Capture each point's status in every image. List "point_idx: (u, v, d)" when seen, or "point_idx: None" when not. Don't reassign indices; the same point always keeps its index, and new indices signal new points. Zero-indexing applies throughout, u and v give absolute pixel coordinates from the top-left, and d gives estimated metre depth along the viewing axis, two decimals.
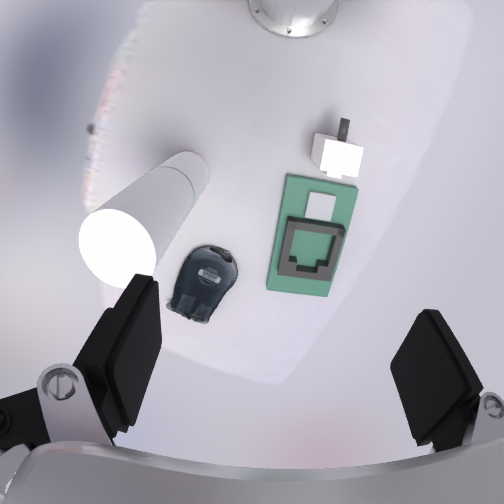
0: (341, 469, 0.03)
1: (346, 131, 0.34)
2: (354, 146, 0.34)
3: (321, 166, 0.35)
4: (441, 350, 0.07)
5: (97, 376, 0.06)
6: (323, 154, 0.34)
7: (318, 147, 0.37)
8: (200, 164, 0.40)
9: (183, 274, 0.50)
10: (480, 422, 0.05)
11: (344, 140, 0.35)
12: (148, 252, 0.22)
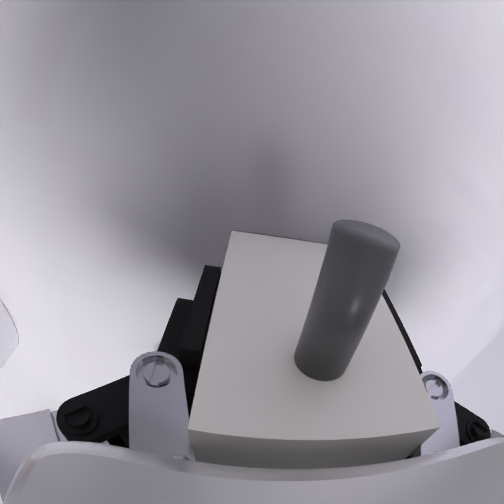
0: (341, 469, 0.03)
1: (361, 329, 0.05)
2: (388, 439, 0.04)
3: None
4: None
5: (192, 360, 0.07)
6: None
7: None
8: None
9: None
10: None
11: (338, 373, 0.06)
12: None
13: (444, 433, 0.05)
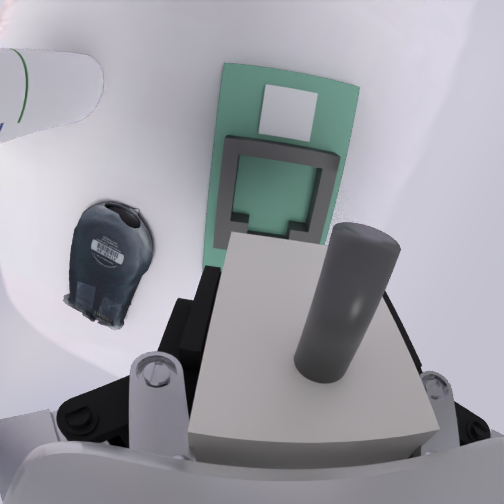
0: (341, 469, 0.03)
1: (361, 331, 0.05)
2: (388, 441, 0.04)
3: None
4: None
5: (192, 360, 0.07)
6: None
7: None
8: (80, 59, 0.18)
9: (73, 249, 0.28)
10: None
11: (338, 375, 0.06)
12: None
13: (444, 433, 0.05)
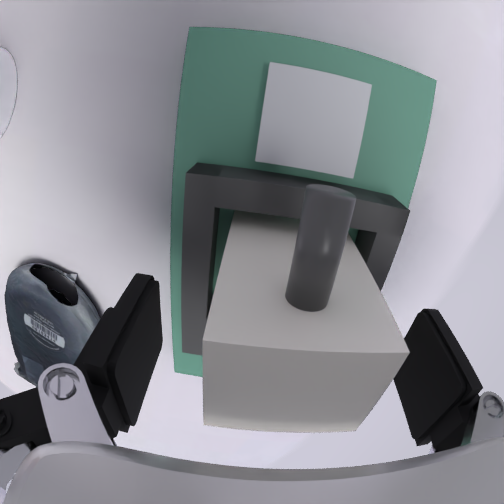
0: (341, 469, 0.03)
1: (333, 264, 0.07)
2: (364, 357, 0.06)
3: (208, 418, 0.08)
4: (440, 350, 0.08)
5: (98, 376, 0.06)
6: (206, 390, 0.07)
7: None
8: None
9: (8, 320, 0.17)
10: (479, 422, 0.05)
11: (320, 305, 0.08)
12: None
13: None
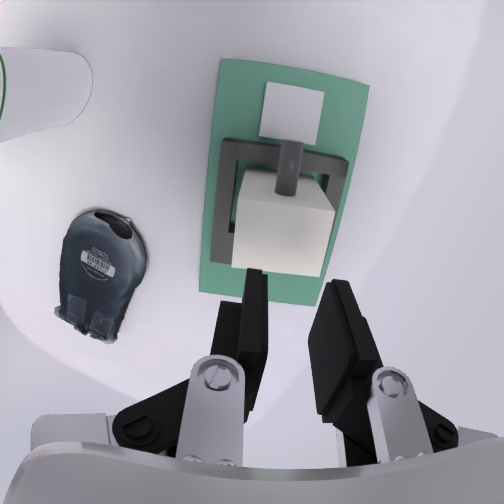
0: (341, 469, 0.03)
1: (295, 171, 0.16)
2: (311, 211, 0.15)
3: (234, 260, 0.16)
4: (338, 318, 0.09)
5: (250, 362, 0.07)
6: (236, 234, 0.16)
7: None
8: (67, 57, 0.16)
9: (63, 260, 0.26)
10: (385, 412, 0.06)
11: (291, 193, 0.16)
12: None
13: (397, 434, 0.05)
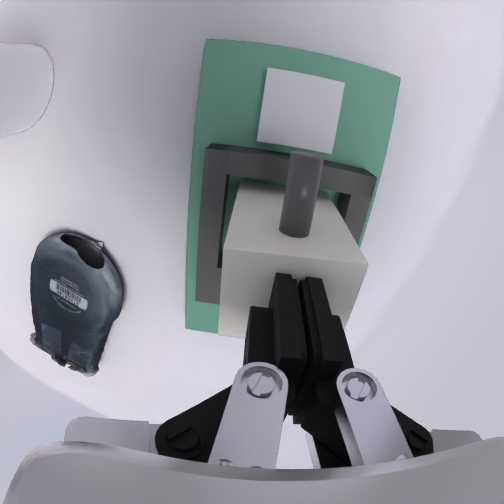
0: (341, 469, 0.03)
1: (310, 202, 0.10)
2: (334, 265, 0.10)
3: (221, 327, 0.12)
4: (307, 316, 0.08)
5: (290, 368, 0.07)
6: (222, 296, 0.11)
7: None
8: (20, 51, 0.11)
9: (32, 288, 0.21)
10: (355, 418, 0.05)
11: (303, 233, 0.11)
12: None
13: (359, 440, 0.05)
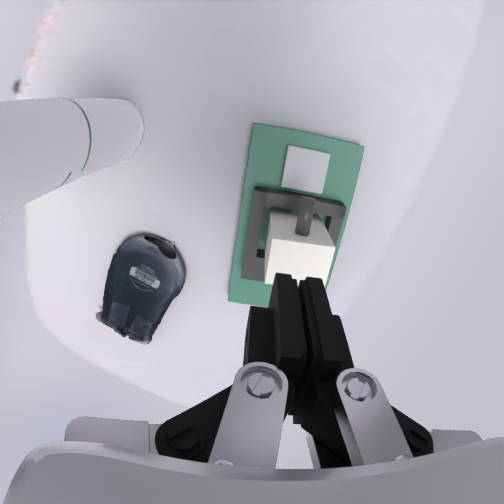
0: (341, 469, 0.03)
1: (309, 219, 0.24)
2: (320, 247, 0.23)
3: (267, 278, 0.24)
4: (307, 316, 0.08)
5: (290, 368, 0.07)
6: (269, 261, 0.24)
7: (268, 240, 0.26)
8: (125, 108, 0.24)
9: (111, 274, 0.33)
10: (355, 418, 0.05)
11: (306, 234, 0.24)
12: None
13: (359, 440, 0.05)
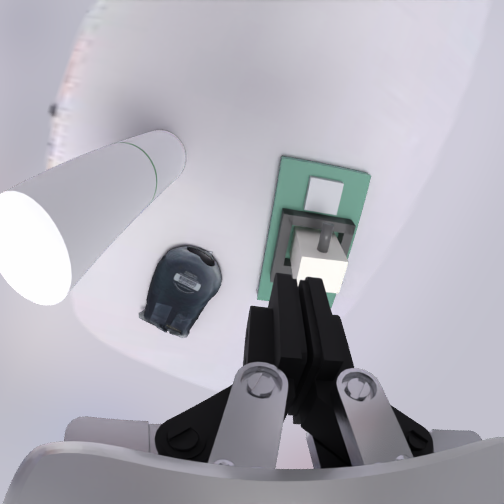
0: (341, 469, 0.03)
1: (328, 240, 0.31)
2: (336, 262, 0.30)
3: None
4: (307, 316, 0.08)
5: (290, 368, 0.07)
6: (299, 273, 0.31)
7: (295, 254, 0.34)
8: (172, 143, 0.31)
9: (156, 279, 0.41)
10: (355, 418, 0.05)
11: (325, 251, 0.31)
12: (59, 254, 0.13)
13: (359, 440, 0.05)
